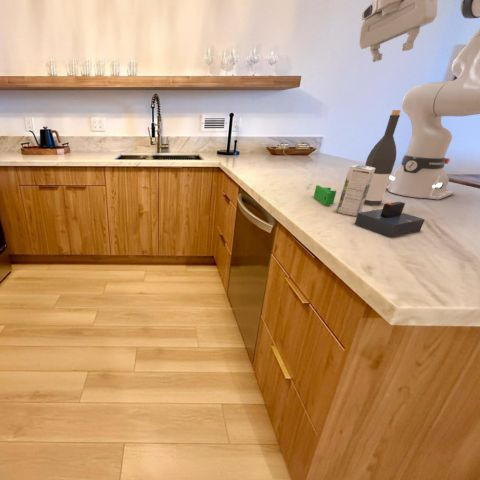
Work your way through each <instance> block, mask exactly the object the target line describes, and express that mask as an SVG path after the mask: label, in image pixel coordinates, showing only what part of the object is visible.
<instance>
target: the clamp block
mask: <svg viewBox="0 0 480 480" xmlns="http://www.w3.org/2000/svg"><path fill="white" fill-rule="evenodd" d="M382 210H383V208H380V209H379V208H378V209H371V210H368V211H361V213H358V215H357V216H356V219H355V222H354V225H356V226H357V227H361V228H364V229H365V230H369V231H372V232H374V233H377V234H380V235H383V236H385V237H388V238H394V237H399V236H404V235H408V234H414V233H418V232H421V230H422V228H423V225H424V223H425V220H426V219H425V218H422V217H419V216H415V215H412V214H408V213H405V212H402V213H401V215H399V216H394V217H388V218H385V217H382V216H381V213H382Z"/></svg>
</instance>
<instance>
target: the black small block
mask: <svg viewBox="0 0 480 480" xmlns="http://www.w3.org/2000/svg"><path fill="white" fill-rule="evenodd" d="M405 205H406V203H405V202H402V201H394V202H385V203H383V207H382V209H383V210H382V213H381V216H382V217H385V218H388V217H394V216H399V215H401V213H403V211H404V208H405Z"/></svg>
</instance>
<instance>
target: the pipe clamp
mask: <svg viewBox="0 0 480 480" xmlns="http://www.w3.org/2000/svg"><path fill="white" fill-rule="evenodd" d="M314 188H315V189H314V193H313V198H314V199H315V200H317V201H318V202H320V203H321V204H322V205H323V206H324V207H329V206H330V204H331V205H332V204H334V203H335V199H336V194H337V190H333V189H332V188H331V187H323V186H321V185H319V184H316V185H315V187H314ZM331 189H332V190H331Z"/></svg>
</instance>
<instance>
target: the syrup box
mask: <svg viewBox="0 0 480 480" xmlns="http://www.w3.org/2000/svg"><path fill="white" fill-rule="evenodd" d="M375 169H376V168H374V167H369V166H365V165H361V164H355V165H352V166H350V167H348V170H347V173H346V178H345V181H344V184H343V187H342V191H341V195H340V198H339V201H338V205H337V208H336V213H338V214H343V215H347V216H348V215H349V216H351V217H352V216H353V217H357V215H358V213H361V212H363V211H362V210H363V207H364V205H365V204H364V202H365V199H366V196H367V193H368V190H369V187H370V184H371V181H372V177H373V174H374V171H375Z"/></svg>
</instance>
